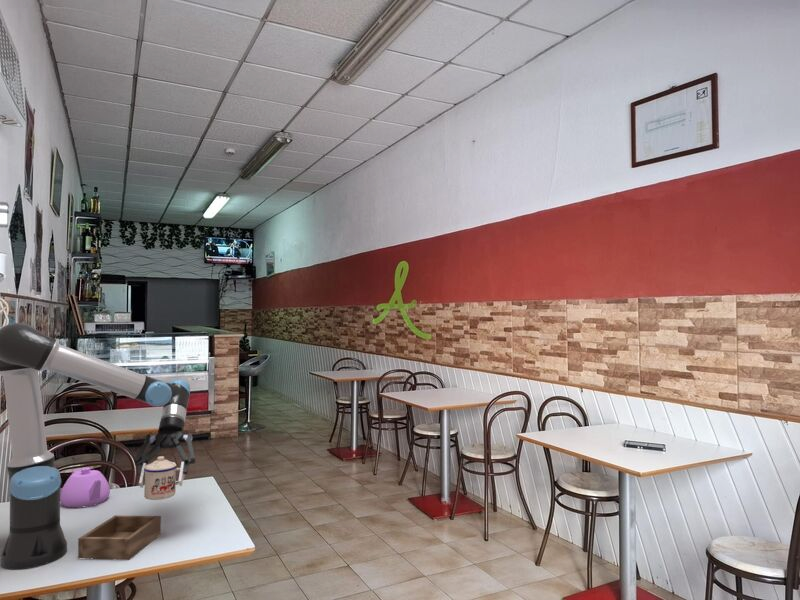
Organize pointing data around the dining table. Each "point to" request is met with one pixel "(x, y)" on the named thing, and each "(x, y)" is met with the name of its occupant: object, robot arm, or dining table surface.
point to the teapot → (84, 488)
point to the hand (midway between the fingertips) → (160, 484)
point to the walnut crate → (119, 537)
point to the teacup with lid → (160, 479)
